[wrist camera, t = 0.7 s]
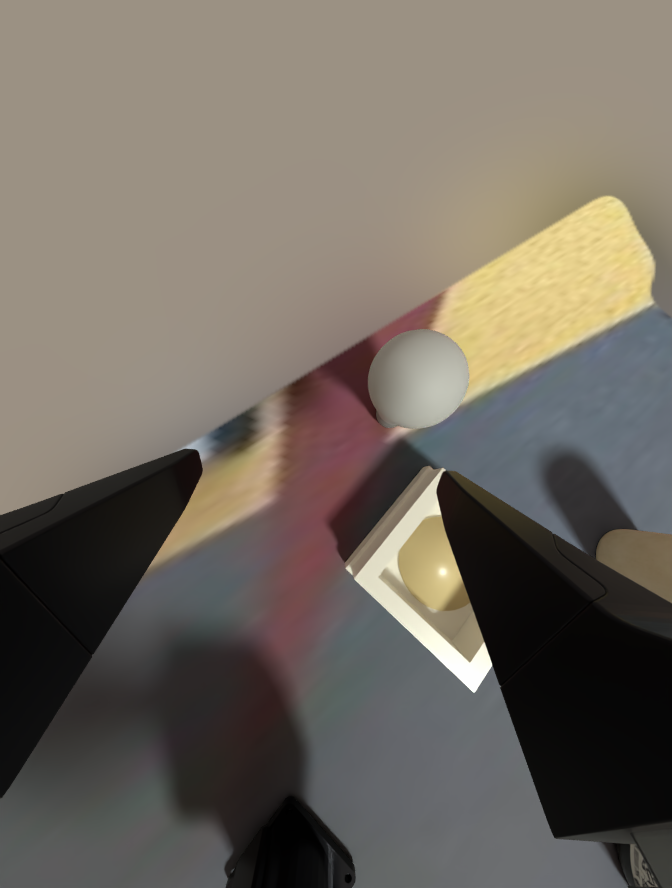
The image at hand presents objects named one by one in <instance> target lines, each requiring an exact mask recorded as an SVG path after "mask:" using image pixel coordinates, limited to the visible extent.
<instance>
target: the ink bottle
mask: <svg viewBox="0 0 672 888" xmlns="http://www.w3.org/2000/svg"><path fill="white" fill-rule="evenodd" d="M617 849H618V855H619V859H620V863H621V867H622V870H623V873H624V875H625V877H626V880H627V882H628V884H629V886H642V887H658V885H657V883H656V881H655V879H654V878H653V876H652V874H651V872H650V870H649V868H648V866H647V864H646V863H645V861H644V859H643V857H642V855H641V853H640V851H639V849H638V848H637V846H636V844H622V843H617Z"/></svg>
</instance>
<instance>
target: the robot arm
mask: <svg viewBox="0 0 672 888" xmlns="http://www.w3.org/2000/svg"><path fill="white" fill-rule="evenodd" d="M202 471H203V468H202V464H201V459H200V455H199V452H198V451H197V450H195V449H183V450H180V451H177V452H175V453H172V454H169V455H166V456H164V457H161V458H158V459H156V460H153V461H150V462H147V463H144V464H142V465H139V466H136V467H134V468H131V469H128V470H125V471H123V472H120V473H117V474H114V475H112V476H109V477H106V478H103V479H101V480H98V481H95V482H92V483H90V484H87V485H84V486H82V487H79V488H76V489H74V490H71V491H68V492H65V493H64V494H60V495H57V496H54V497H51V498H49V499H46V500H43V501H40V502H38V503H35V504H32V505H29V506H26V507H23V508H20V509H17V510H14V511H12V512H9V513H6V514H3V515H0V799H1V798H2V797H3V795H4V794H5V793H6V791H7V790H8V788H9V787H10V786H11V784H12V783H13V781H14V780H15V778H16V776H17V775H18V773H19V772H20V770H21V769H22V767H23V765H24V764H25V762H26V761H27V759H28V757H29V756H30V754H31V753H32V751H33V749H34V748H35V746H36V745H37V743H38V742H39V740H40V738H41V737H42V735H43V734H44V732H45V730H46V729H47V727H48V726H49V724H50V723H51V721H52V719H53V718H54V716H55V715H56V713H57V711H58V710H59V708H60V707H61V705H62V704H63V702H64V700H65V699H66V697H67V696H68V694H69V692H70V691H71V689H72V688H73V686H74V685H75V683H76V681H77V680H78V678H79V677H80V675H81V673H82V672H83V670H84V669H85V667H86V666H87V664H88V662H89V661H90V659H91V658H92V654H94V652H95V651H96V649H97V648H98V646H99V645H100V643H101V641H102V640H103V638H104V637H105V635H106V633H107V632H108V630H109V629H110V627H111V626H112V624H113V622H114V621H115V619H116V618H117V616H118V614H119V613H120V611H121V610H122V608H123V607H124V605H125V603H126V602H127V600H128V599H129V597H130V595H131V594H132V592H133V591H134V589H135V588H136V586H137V584H138V583H139V581H140V580H141V578H142V576H143V575H144V573H145V572H146V570H147V569H148V567H149V565H150V564H151V562H152V561H153V559H154V557H155V556H156V554H157V553H158V551H159V550H160V548H161V546H162V545H163V543H164V542H165V540H166V538H167V537H168V535H169V534H170V532H171V530H172V529H173V527H174V526H175V524H176V523H177V521H178V519H179V518H180V516H181V515H182V513H183V511H184V510H185V508H186V506H187V504H188V502H189V500H190V498H191V496H192V494H193V492H194V490H195V487H196V485H197V483H198V481H199V479H200V477H201V475H202ZM436 494H437V498H438V503H439V507H440V512H441V516H442V520H443V525H444V529H445V532H446V535H447V538H448V541H449V544H450V547H451V549H452V552H453V555H454V558H455V561H456V564H457V566H458V569H459V572H460V575H461V578H462V581H463V583H464V586H465V589H466V592H467V595H468V597H469V600H470V603H471V606H472V609H473V612H474V614H475V617H476V620H477V623H478V626H479V629H480V631H481V634H482V637H483V640H484V643H485V646H486V648H487V651H488V654H489V657H490V660H491V663H492V665H493V668H494V671H495V674H496V677H497V679H498V682H499V685H500V686H501V687H500V689H501V691H502V694H503V697H504V700H505V703H506V706H507V708H508V711H509V714H510V717H511V720H512V723H513V725H514V728H515V731H516V734H517V737H518V739H519V742H520V745H521V748H522V751H523V754H524V756H525V759H526V762H527V765H528V768H529V771H530V773H531V776H532V779H533V782H534V785H535V788H536V790H537V793H538V796H539V799H540V802H541V804H542V807H543V810H544V813H545V816H546V819H547V821H548V824H549V826H550V829H551V831H552V834H553V836H554V838H555V839H566V840H580V841H594V842H608V843H622V844H636V846H637V848H638V849H639V851H640V853H641V855H642V857H643V859H644V861H645V863H646V864H647V866H648V868H649V870H650V872H651V874H652V876H653V878H654V879H655V881H656V883H657V885H658V887H642V886H628V888H672V603H671V602H669V601H667V600H665V599H664V598H662V597H660V596H658V595H657V594H655V593H653V592H652V591H650V590H648V589H646V588H645V587H643V586H641V585H639V584H638V583H636V582H634V581H632V580H631V579H629V578H627V577H625V576H624V575H622V574H620V573H618V572H617V571H615V570H613V569H612V568H610V567H608V566H606V565H605V564H603V563H601V562H600V561H598V560H596V559H594V558H593V557H591V556H589V555H588V554H586V553H584V552H583V551H581V550H580V549H578V548H576V547H575V546H573V545H572V544H570V543H568V542H567V541H565V540H564V539H562V538H560V537H559V536H557V535H556V534H552V532H551V531H549V530H548V529H546V528H544V527H543V526H541V525H540V524H538V523H537V522H535V521H533V520H532V519H530V518H529V517H527V516H525V515H524V514H522V513H521V512H519V511H518V510H516V509H514V508H513V507H511V506H510V505H508V504H507V503H505V502H503V501H502V500H500V499H499V498H497V497H495V496H494V495H492V494H491V493H489V492H488V491H486V490H484V489H483V488H481V487H480V486H478V485H476V484H475V483H473V482H472V481H470V480H469V479H467V478H465V477H464V476H462V475H461V474H459V473H458V472H456V471H443V473H442V475H441V477H440V480H439V483H438V486H437V489H436ZM288 808H292V809H291V810H289V809H288ZM354 883H355V867H354V864H353V863H352V861H351V860H350V859H349V858H348V857H347V856H346V855H345V854H344V853H343V851H342V850H341V849H340V848H339V847H338V846H337V845H336V844H335V842H334V841H333V840H332V839H331V838H330V837H329V836H328V835H327V834H326V832H325V831H324V830H323V829H322V828H321V827H320V826H319V825H318V824H317V822H316V821H315V820H314V819H313V818H312V817H311V816H310V815H309V814H308V812H307V811H306V810H305V809H304V808H303V807H302V806H301V805H300V803H299V802H298V801H297V800H296V799H295V798H294V797H288V798H287V799H285V801H284V802H283V803H282V805H281V806H280V808H279V809H278V810H277V812H276V813H275V814H274V816H273V817H272V819H271V820H270V821H269V823H268V824H267V825H265V826H264V827H262V828H261V830H260V831H259V833H258V834H257V835H256V837H255V838H254V839H253V841H252V842H251V844H250V845H249V846H248V848H247V849H246V850H245V852H244V853H243V854H242V856H241V857H240V859H239V860H238V862H237V866H236V868H235V869H234V871H233V872H232V873H231V875H230V876H229V878H228V881H227V885H226V888H352V887H353V885H354Z"/></svg>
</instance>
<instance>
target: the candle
mask: <svg viewBox="0 0 672 888" xmlns="http://www.w3.org/2000/svg"><path fill="white" fill-rule="evenodd" d="M596 560H598V561H600V562H601V563H603V564H605V565H606V566H608V567H610V568H612V569H613V570H615V571H617V572H618V573H620V574H622V575H624V576H625V577H627V578H629V579H631V580H632V581H634V582H636V583H638V584H639V585H641V586H643V587H645V588H646V589H648V590H650V591H652V592H653V593H655V594H657V595H658V596H660V597H662V598H664V599H665V600H667V601H669V602H671V603H672V535H670V534H662V533H654V532H646V531H638V530H629V529H616V530H612V531H609V532H608V533H606V534H605V535H604V536H603V537H602V538H601V539H600V541H599V543H598V546H597V550H596Z"/></svg>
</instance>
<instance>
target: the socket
mask: <svg viewBox="0 0 672 888" xmlns="http://www.w3.org/2000/svg"><path fill="white" fill-rule="evenodd" d="M443 471H446V470H445V469H444V468H440V469H435V470H434V469H433V468H431V467H430V466H426V467H423V468H422V469H421V470H420V472H419V473H418V474H417V475H416V476H415V478H414V479H413V480H412V481H411V483H410V484H409V485H408V486H407V487H406V489H405V490H404V491H403V492H402V494H401V495H400V496H399V497H398V498H397V500H396V501H395V502H394V503H393V505H392V506H391V507H390V508H389V509H388V511H387V512H386V513H385V514H384V516H383V517H382V518H381V519H380V520H379V522H378V523H377V524H376V525H375V527H374V528H373V529H372V530H371V531H370V533H369V534H368V535H367V536H366V538H365V539H364V540H363V541H362V542H361V544H360V545H359V546H358V547H357V549H356V550H355V551H354V552H353V553H352V555H351V556H350V557H349V558H348V560H347V561H346V562H345V568H346V569H347V570H348V571H349V572H350V573H351V574H352V575H353V577H354V579H355V580H356V581H357V582H358V583H359V584H360V585H361V586H362V587H363V588H364V589H365V590H366V591H367V592H368V593H369V594H370V595H372V596H373V597H374V598H375V599H376V600H377V601H378V602H379V603H380V604H381V605H382V606H383V607H384V608H385V609H386V610H387V611H388V612H389V613H390V614H392V615H393V616H394V617H395V618H396V619H397V620H398V621H399V622H400V623H401V624H402V625H403V626H404V627H405V628H406V629H407V630H408V631H409V632H411V633H412V634H413V635H414V636H415V637H416V638H417V639H418V640H419V641H420V642H421V643H422V644H423V645H424V646H425V647H426V648H427V649H428V650H429V651H431V652H432V653H433V654H434V655H435V656H436V657H437V658H438V659H439V660H440V661H441V662H442V663H443V664H444V665H445V666H446V667H447V668H448V669H450V670H451V671H452V672H453V673H454V674H455V675H456V676H457V677H458V678H459V679H460V680H461V681H462V682H463V683H464V684H465V685H466V686H467V687H468V688H470V689H471V690H472V691H473V692H475V691H476V689H477V688H478V686H479V685H480V683H481V682H482V680H483V679H484V677H485V676H486V674H487V672H488V671H489V669H490V668H491V666H492V663H491V660H490V657H489V654H488V651H487V648H486V646H485V643H484V640H483V637H482V634H481V631H480V629H479V626H478V623H477V620H476V617H475V614H474V612H473V609H472V606H471V603H470V600H469V597H468V595H467V592H466V589H465V586H464V583H463V581H462V578H461V575H460V572H459V569H458V566H457V564H456V561H455V558H454V555H453V552H452V549H451V547H450V544H449V541H448V538H447V535H446V532H445V529H444V525H443V520H442V516H441V512H440V507H439V503H438V498H437V494H436V489H437V486H438V483H439V480H440V477H441V475H442V473H443Z"/></svg>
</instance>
